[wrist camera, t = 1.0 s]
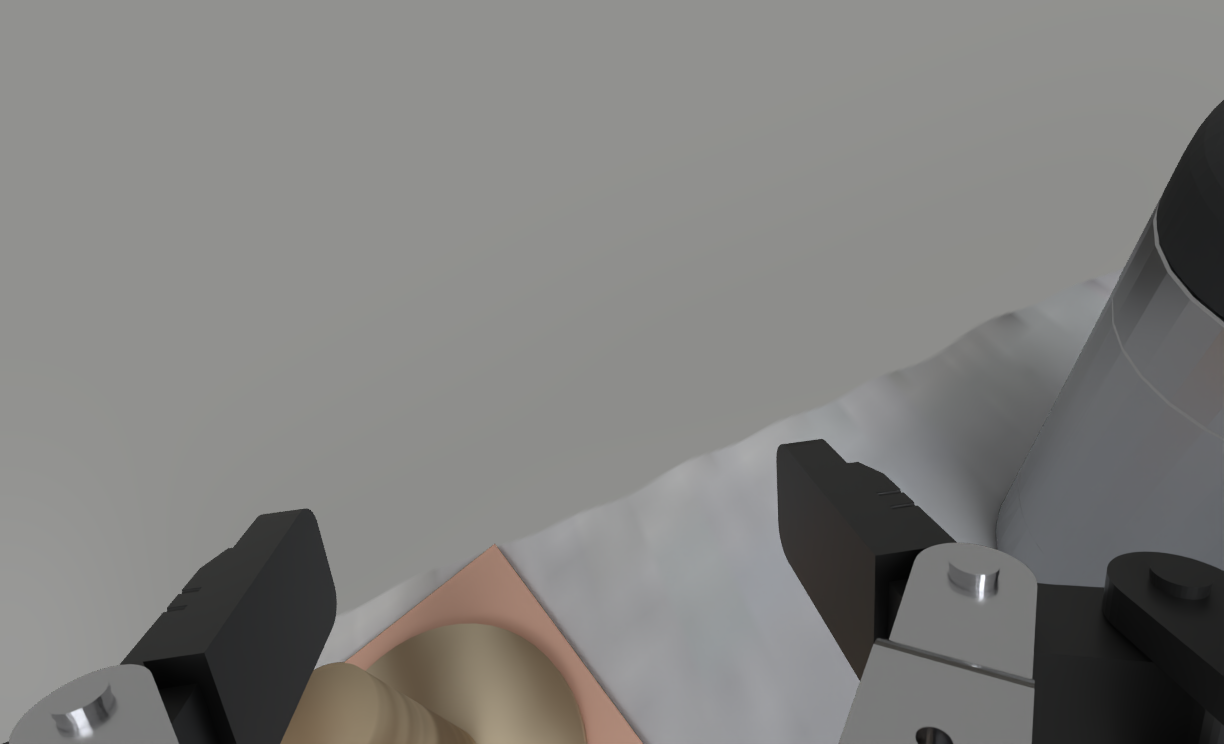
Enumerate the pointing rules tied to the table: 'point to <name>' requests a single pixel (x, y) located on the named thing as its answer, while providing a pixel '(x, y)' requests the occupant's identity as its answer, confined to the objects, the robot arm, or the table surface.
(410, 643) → the paper towel holder
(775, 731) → the table surface
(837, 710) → the table surface
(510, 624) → the mat
